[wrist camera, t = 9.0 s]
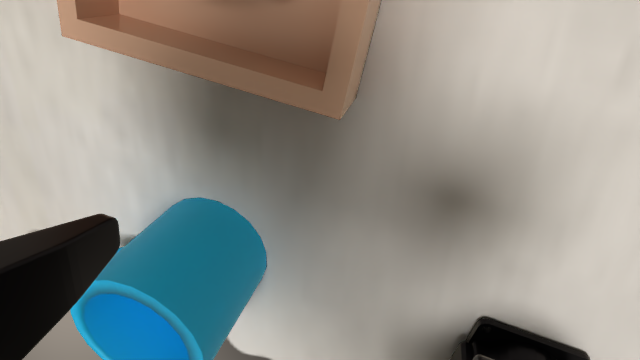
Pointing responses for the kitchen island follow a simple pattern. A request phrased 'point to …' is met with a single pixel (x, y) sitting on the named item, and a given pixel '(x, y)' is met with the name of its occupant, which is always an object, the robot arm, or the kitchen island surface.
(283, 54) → the shallow wooden tray
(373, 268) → the kitchen island surface
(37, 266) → the robot arm
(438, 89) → the kitchen island surface
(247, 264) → the mug
